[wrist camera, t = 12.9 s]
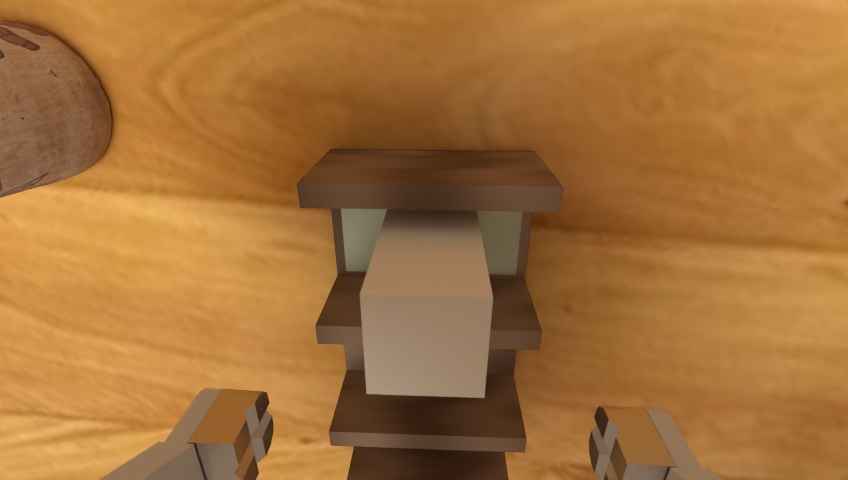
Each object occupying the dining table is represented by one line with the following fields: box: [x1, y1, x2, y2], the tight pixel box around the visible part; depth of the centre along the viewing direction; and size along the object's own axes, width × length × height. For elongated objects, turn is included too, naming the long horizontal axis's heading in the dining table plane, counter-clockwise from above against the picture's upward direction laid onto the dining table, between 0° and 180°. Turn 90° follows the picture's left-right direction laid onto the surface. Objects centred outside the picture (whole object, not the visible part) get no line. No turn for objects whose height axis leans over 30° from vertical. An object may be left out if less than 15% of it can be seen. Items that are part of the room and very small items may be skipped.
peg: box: [360, 209, 493, 398], centre depth 18 cm, size 4×4×9 cm
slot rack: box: [297, 149, 563, 480], centre depth 23 cm, size 10×21×6 cm, turn 0°
